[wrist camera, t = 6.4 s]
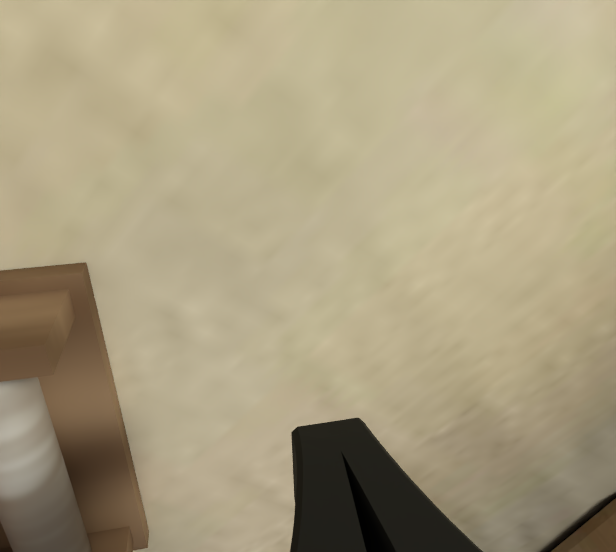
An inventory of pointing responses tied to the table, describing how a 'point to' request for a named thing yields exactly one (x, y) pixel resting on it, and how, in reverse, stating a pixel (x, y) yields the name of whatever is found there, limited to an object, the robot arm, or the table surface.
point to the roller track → (61, 422)
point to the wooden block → (594, 533)
